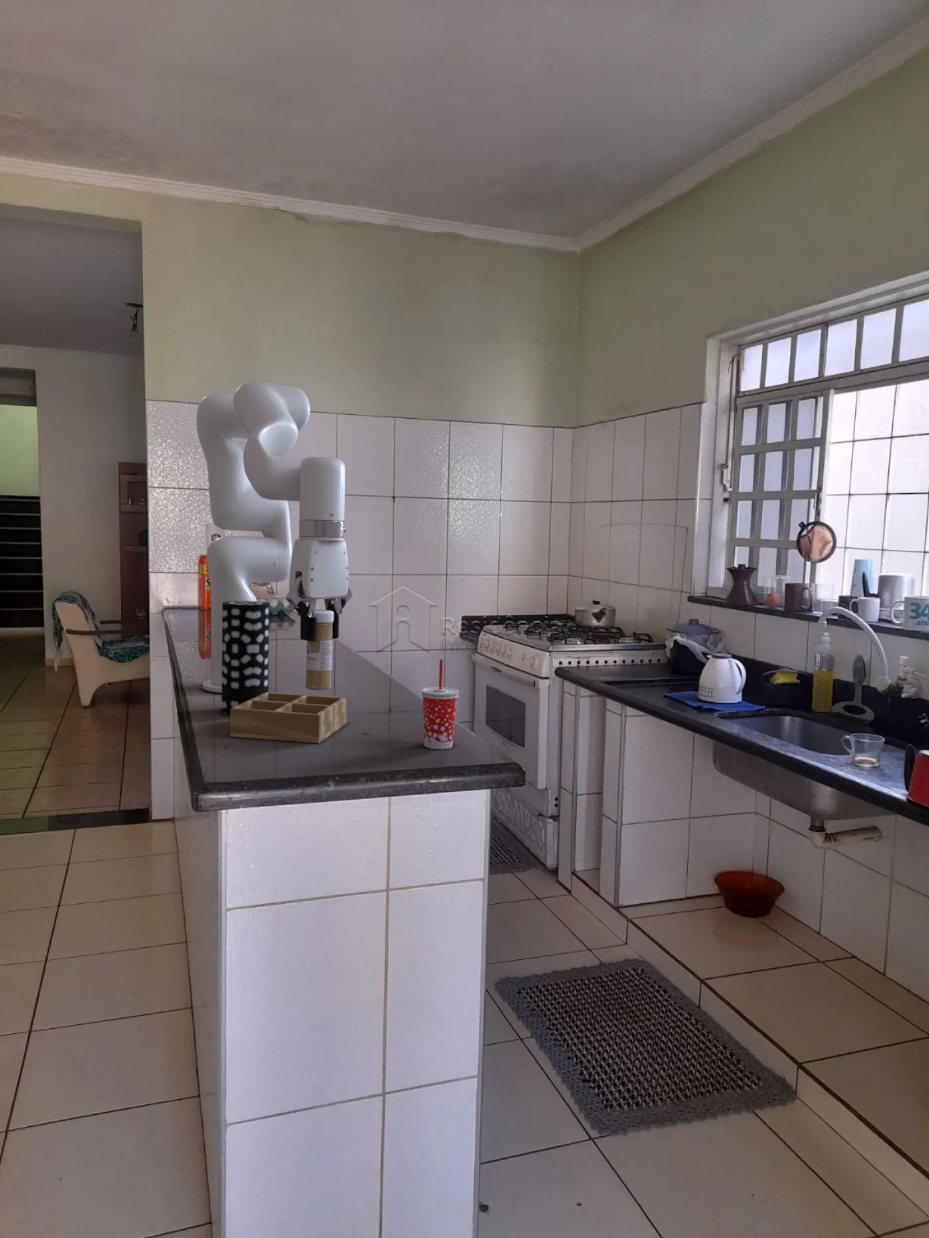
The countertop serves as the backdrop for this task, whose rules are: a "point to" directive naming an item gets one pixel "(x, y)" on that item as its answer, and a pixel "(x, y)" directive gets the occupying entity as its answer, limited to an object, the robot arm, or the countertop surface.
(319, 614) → the sprinkles bottle
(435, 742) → the beverage cup
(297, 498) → the robot arm
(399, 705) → the countertop surface
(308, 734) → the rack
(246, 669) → the spotted tube
